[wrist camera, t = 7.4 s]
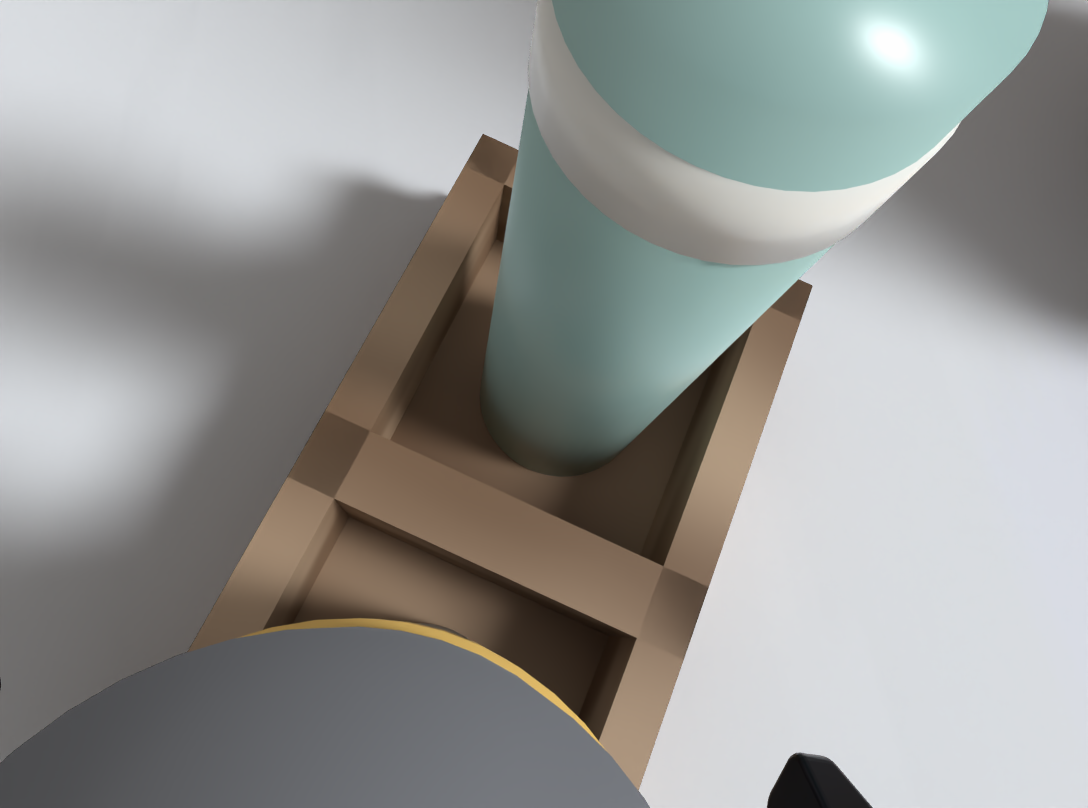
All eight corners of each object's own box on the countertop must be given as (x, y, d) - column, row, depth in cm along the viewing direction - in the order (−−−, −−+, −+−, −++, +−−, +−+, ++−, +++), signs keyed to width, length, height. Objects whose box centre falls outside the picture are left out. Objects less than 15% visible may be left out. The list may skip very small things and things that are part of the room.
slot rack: (515, 1022, 15) (535, 1135, 12) (119, 839, 15) (27, 900, 12) (762, 337, 20) (825, 281, 17) (472, 203, 20) (478, 121, 17)
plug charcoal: (518, 814, 15) (829, 1639, 3) (315, 843, 15) (-396, 2061, 2) (501, 611, 16) (674, 580, 4) (312, 631, 16) (-173, 666, 3)
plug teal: (605, 506, 17) (1000, 216, 5) (449, 434, 17) (468, -29, 5) (664, 362, 19) (1092, -147, 6) (519, 295, 19) (669, -343, 6)
